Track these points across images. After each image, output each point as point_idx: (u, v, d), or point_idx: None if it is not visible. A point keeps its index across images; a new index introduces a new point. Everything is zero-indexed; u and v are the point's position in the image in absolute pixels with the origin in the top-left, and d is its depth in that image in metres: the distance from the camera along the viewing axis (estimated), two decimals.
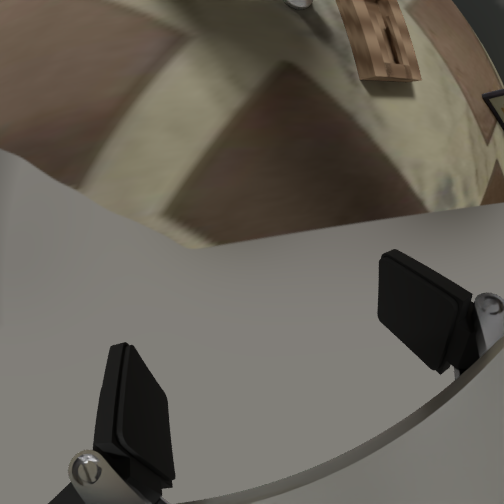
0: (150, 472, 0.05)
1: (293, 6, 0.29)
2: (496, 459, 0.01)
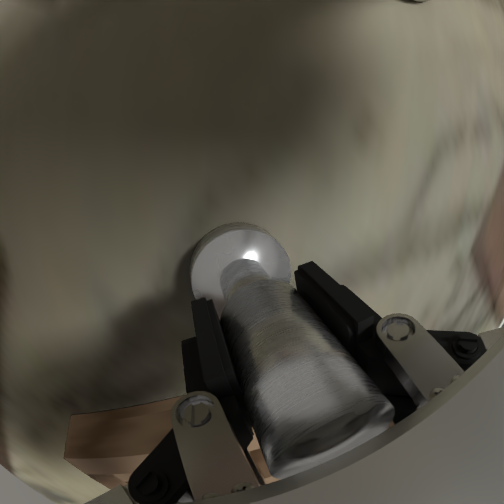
0: (243, 414, 0.07)
1: (191, 263, 0.13)
2: (496, 459, 0.01)
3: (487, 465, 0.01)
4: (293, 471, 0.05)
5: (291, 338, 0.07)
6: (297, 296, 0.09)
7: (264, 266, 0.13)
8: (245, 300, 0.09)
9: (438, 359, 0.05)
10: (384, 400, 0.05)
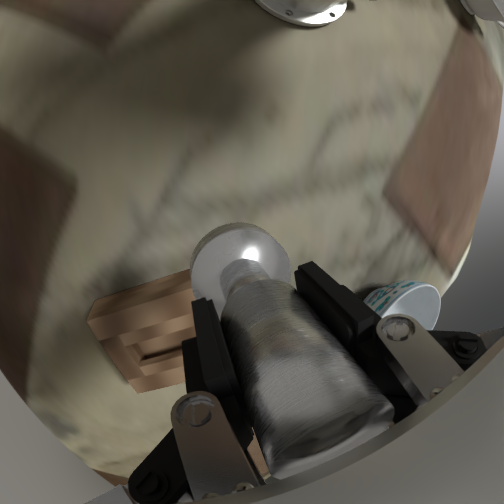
0: (243, 415, 0.07)
1: (191, 263, 0.13)
2: (496, 459, 0.01)
3: (487, 465, 0.01)
4: (293, 471, 0.05)
5: (291, 338, 0.07)
6: (297, 296, 0.09)
7: (264, 266, 0.13)
8: (245, 300, 0.09)
9: (438, 359, 0.05)
10: (384, 400, 0.05)
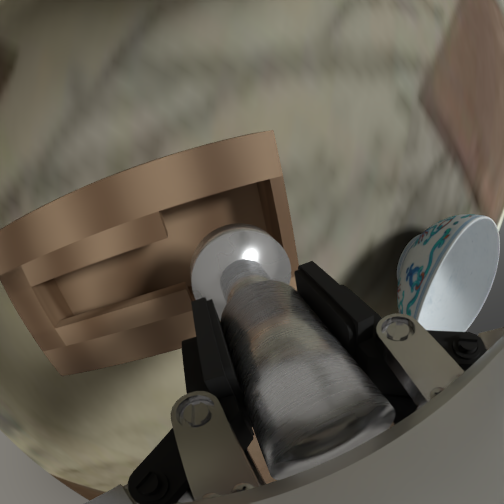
0: (243, 415, 0.07)
1: (191, 264, 0.13)
2: (496, 459, 0.01)
3: (487, 465, 0.01)
4: (294, 473, 0.05)
5: (292, 340, 0.07)
6: (298, 297, 0.09)
7: (264, 267, 0.13)
8: (245, 301, 0.09)
9: (438, 359, 0.05)
10: (385, 402, 0.05)
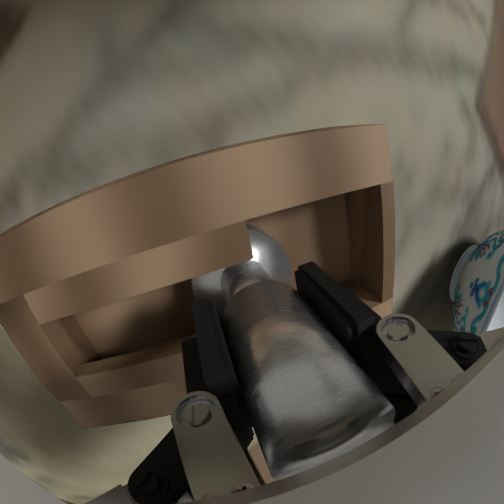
0: (243, 415, 0.07)
1: None
2: (496, 459, 0.01)
3: (487, 465, 0.01)
4: (294, 472, 0.05)
5: (292, 340, 0.07)
6: (298, 297, 0.09)
7: (264, 267, 0.13)
8: (246, 301, 0.09)
9: (438, 359, 0.05)
10: (385, 401, 0.05)
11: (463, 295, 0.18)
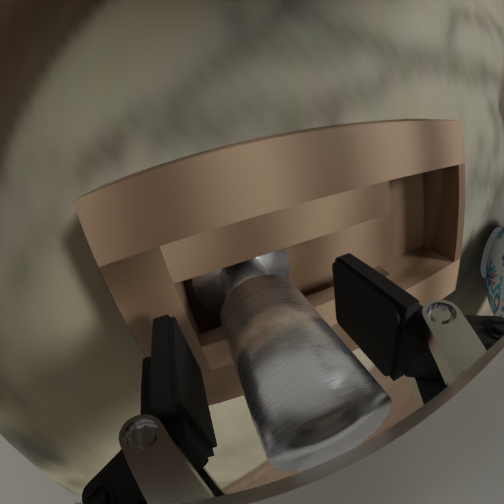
0: (197, 437, 0.06)
1: None
2: (496, 459, 0.01)
3: (487, 465, 0.01)
4: (292, 462, 0.05)
5: (289, 330, 0.07)
6: (295, 291, 0.09)
7: (263, 263, 0.13)
8: (245, 294, 0.09)
9: (472, 346, 0.05)
10: (380, 390, 0.05)
11: (496, 267, 0.19)
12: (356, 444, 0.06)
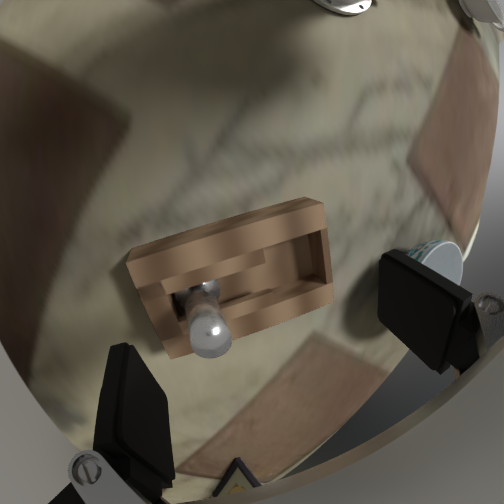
0: (150, 473, 0.05)
1: None
2: (496, 459, 0.01)
3: (487, 465, 0.01)
4: (199, 350, 0.20)
5: (201, 309, 0.22)
6: (210, 297, 0.24)
7: (207, 285, 0.28)
8: (192, 298, 0.24)
9: None
10: (222, 326, 0.20)
11: None
12: (224, 351, 0.21)
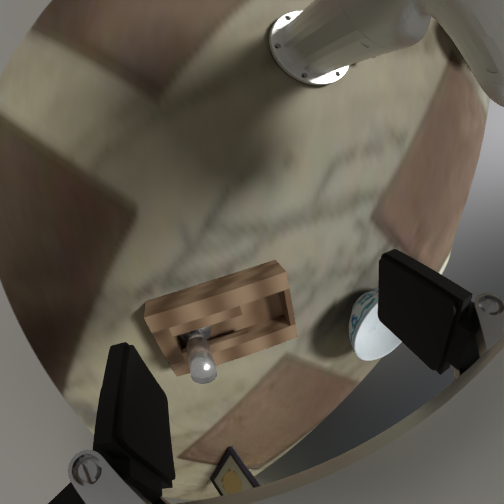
0: (150, 473, 0.05)
1: None
2: (496, 459, 0.01)
3: (487, 465, 0.01)
4: (196, 379, 0.31)
5: (197, 352, 0.32)
6: (203, 342, 0.35)
7: None
8: (191, 342, 0.35)
9: None
10: (210, 366, 0.31)
11: (349, 321, 0.45)
12: (212, 379, 0.31)
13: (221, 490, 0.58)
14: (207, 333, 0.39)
